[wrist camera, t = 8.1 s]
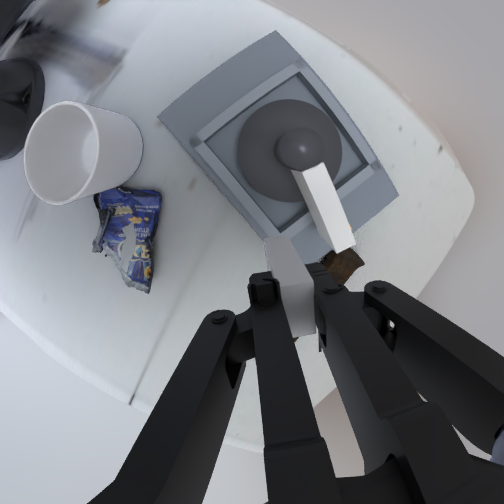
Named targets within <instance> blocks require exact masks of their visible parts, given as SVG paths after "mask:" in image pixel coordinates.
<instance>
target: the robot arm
mask: <svg viewBox="0 0 504 504" xmlns="http://www.w3.org/2000/svg"><path fill="white" fill-rule="evenodd" d="M33 1H35V0H0V43H1V42H2V40H3V39H4V37H5V36H6V34H7V33H8V32H9V30H10V29H11V28H12V26H13V25H14V24H15V22H16V21H17V20H18V18H19V17H20V16H21V15H22V14H23V12H24V11H25V10H26V9H27V8H28V6H29V5H30V4H31V3H32V2H33ZM43 98H44V77H43V73H42V70H41V68H40V66H39V65H38V64H37V63H36V62H34V61H32V60H29V59H25V58H13V59H7V60H2V61H0V160H5V159H9V158H11V157H13V156H14V155H16V154H17V153H18V152H19V151H20V150H21V149H22V148H23V147H24V145H25V142H26V139H27V136H28V133H29V131H30V129H31V127H32V125H33V123H34V122H35V120H36V119H37V118H38V116H39V115H40V112H41V108H42V103H43ZM264 246H265V253H266V259H267V266H268V271H267V272H261V273H255V274H252V275H251V277H250V278H249V284H248V287H247V288H248V293H249V299H250V304H251V306H250V308H249V309H248V310H246V311H245V312H243V313H241V314H238V315H235V314H234V313H233V312H232V311H230V310H216V311H213V312H211V313H210V314H208V315H207V316H206V317H205V318H204V320H203V321H202V323H201V325H200V327H199V328H198V330H197V332H196V334H195V335H194V337H193V339H192V341H191V343H190V344H189V346H188V348H187V350H186V351H185V353H184V355H183V357H182V359H181V360H180V362H179V364H178V366H177V368H176V369H175V371H174V373H173V375H172V376H171V378H170V380H169V382H168V384H167V385H166V387H165V389H164V391H163V393H162V394H161V396H160V398H159V400H158V402H157V403H156V405H155V407H154V409H153V411H152V413H151V414H150V416H149V418H148V420H147V422H146V423H145V425H144V427H143V429H142V431H141V432H140V434H139V436H138V438H137V440H136V442H135V443H134V445H133V447H132V449H131V451H130V453H129V454H128V456H127V458H126V460H125V462H124V464H123V466H122V468H121V469H120V471H119V473H118V475H117V477H116V478H115V480H114V481H113V482H112V483H111V484H110V485H109V486H107V487H106V488H105V489H104V490H103V491H102V492H100V493H99V494H98V495H97V496H96V497H95V498H93V499H92V500H91V501H90V502H89V503H87V504H202V502H203V499H204V496H205V493H206V490H207V488H208V485H209V482H210V479H211V476H212V473H213V470H214V467H215V463H216V460H217V457H218V454H219V451H220V448H221V445H222V442H223V439H224V436H225V433H226V429H227V426H228V423H229V420H230V417H231V413H232V410H233V407H234V404H235V400H236V397H237V394H238V391H239V387H240V384H241V381H242V377H243V374H244V371H245V367H246V361H247V360H249V359H252V358H254V357H256V365H257V375H258V385H259V395H260V405H261V415H262V424H263V434H264V444H265V447H264V463H265V472H266V482H267V492H268V500H269V501H268V502H266V503H265V504H504V357H503V356H501V355H500V354H498V353H497V352H496V351H494V350H493V349H491V348H490V347H489V346H487V345H486V344H484V343H482V342H481V341H480V340H478V339H477V338H475V337H474V336H472V335H471V334H469V333H468V332H466V331H465V330H463V329H462V328H460V327H458V326H457V325H456V324H454V323H453V322H451V321H450V320H448V319H447V318H445V317H443V316H442V315H440V314H439V313H437V312H435V311H434V310H432V309H431V308H429V307H428V306H426V305H424V304H423V303H421V302H419V301H418V300H416V299H415V298H413V297H412V296H410V295H408V294H407V293H405V292H403V291H402V290H400V289H399V288H397V287H395V286H394V285H392V284H390V283H388V282H386V281H381V280H378V281H377V280H376V281H372V282H369V283H367V284H366V285H365V287H364V292H350V291H349V290H348V289H347V288H346V287H345V286H344V285H343V284H340V283H336V282H335V281H334V280H333V278H332V277H331V275H330V274H329V272H328V271H327V270H326V268H325V267H324V265H322V264H320V263H318V262H316V263H310V264H304V263H303V262H302V260H301V258H300V256H299V255H298V253H297V251H296V249H295V248H294V246H293V244H292V242H291V241H290V239H289V237H288V236H287V235H283V236H276V237H270V238H264ZM390 321H392V322H393V323H394V324H395V326H394V328H392V327H391V326H390ZM316 326H317V328H318V334H319V352H321V348H322V349H323V352H324V354H325V357H326V359H327V362H328V364H329V367H330V370H331V372H332V375H333V377H334V380H335V383H336V385H337V388H338V390H339V393H340V396H341V398H342V401H343V404H344V406H345V409H346V412H347V414H348V417H349V420H350V422H351V425H352V428H353V431H354V433H355V436H356V439H357V442H358V445H359V448H360V450H361V453H362V456H363V459H364V472H365V475H364V476H356V477H343V478H336V477H335V473H334V470H333V466H332V462H331V459H330V455H329V451H328V448H327V445H326V442H325V440H324V438H323V437H321V435H320V432H319V429H318V425H317V421H316V418H315V414H314V411H313V407H312V403H311V400H310V396H309V393H308V389H307V385H306V382H305V378H304V375H303V371H302V368H301V364H300V361H299V357H298V354H297V350H296V347H295V343H294V340H293V338H295V337H300V336H305V335H310V334H315V333H316ZM418 393H419V394H421V395H422V396H423V397H424V398H425V399H426V400H427V401H428V402H425V401H423V400H422V399H421V397H420V396H419V394H418ZM451 424H452V425H453V426H454V427H455V428H456V429H457V430H458V431H459V432H460V433H461V434H462V435H463V436H464V437H465V438H466V439H468V440H469V441H470V442H471V443H472V444H473V445H475V446H476V447H478V448H479V449H481V450H482V451H484V452H486V453H488V454H490V455H492V458H491V459H490V461H488V460H485V459H482V458H479V457H476V456H473V455H471V454H469V453H468V452H467V450H466V448H465V447H464V445H463V443H462V441H461V440H460V438H459V437H458V435H457V433H456V431H455V430H454V428H453V426H452V425H451Z"/></svg>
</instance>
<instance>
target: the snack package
mask: <svg viewBox="0 0 504 504" xmlns="http://www.w3.org/2000/svg"><path fill="white" fill-rule="evenodd" d="M115 188H116V189H115ZM115 188H112V189H109V190H105V191H102V192H99V193H96V194H94V202H95V205H96V207H97V209H98V211H99V218H100V227H99V231H98V234H97V237H96V239H94V240H93V244H92V245H93V251H92V252H100V253H101V252H102V251H103V248H104V249H105V251H106V252H107V254H108V255H109V256H111V257H112V258H113V260H114V262H115V264H116V266H117V268H118V269H119V270H120V272H121V274H122V278H123V280H124V282H125V284H126V285H127V286H128V287H131V286H132V287H135V288H136V289H137V290H141V291H144V292H145V293H147V294H149V293H150V288H151V284H152V278H153V271H154V262H153V248H152V241H153V237H154V236H155V233H156V230H157V226H158V220H159V213H160V207H161V200H162V197H161V194H160V193H159V192H157V191H154V190H137V189H129V188H128V189H127V188H123V187H120V186H117V187H115ZM118 188H120V189H121V190H123V191H125V192H131V194H129V193H127V194H125V193H124V192H122V191H120V190H118ZM131 222H133V223H134V228H135V231H136V235H137V237H136V247H135V250H134V254H133V257H132V259H131V260H130V262H129V263H130V264H129V268H128V272H127V273H125V272H124V271H123V270H122V268H121V266H120V260H121V258H120V256H121V249H122V245H123V242H124V240H125V239H126V236H125V234H124V232H123V230H122V229H121V228H123V227H124V226H127V225H129V224H130V223H131ZM107 254H106V255H105V257H106V256H107ZM128 277H130V278H131V279H132V280H133V281H131V280H129V279H128Z"/></svg>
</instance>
